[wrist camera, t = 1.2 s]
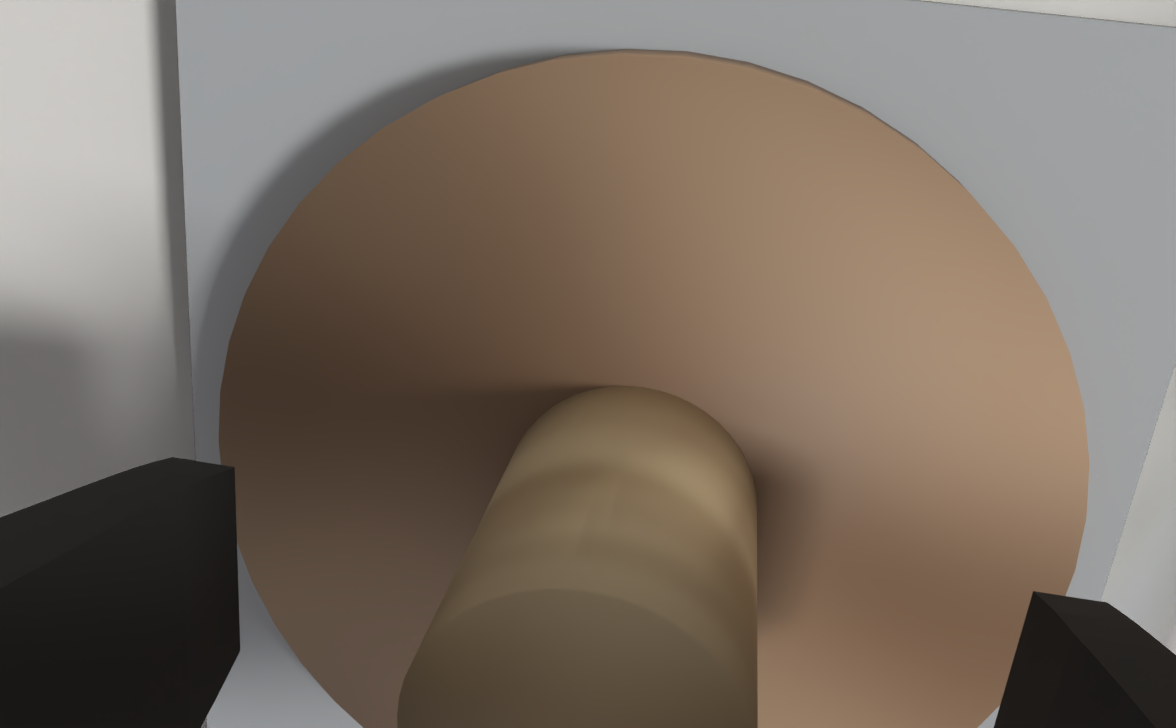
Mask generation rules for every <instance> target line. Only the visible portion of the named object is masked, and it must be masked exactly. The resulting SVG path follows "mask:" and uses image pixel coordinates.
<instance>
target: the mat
mask: <svg viewBox="0 0 1176 728" xmlns="http://www.w3.org/2000/svg"><path fill="white" fill-rule="evenodd" d="M176 22H177V45H178V68H179V91H180V114H181V137H182V160H183V183H184V206H185V229H186V253H187V276H188V299H189V322H190V345H191V368H192V391H193V414H194V437H195V460H196V461H199V462H206V463H212V464H219V465H221V460H220V451H219V410H220V390H221V384H222V378H223V372H224V367H225V361H226V355H227V350H228V344H229V340H230V337H231V334H232V331H233V328H234V325H235V322H236V319H237V316H238V313H239V310H240V307H241V304H242V301H243V298H244V295H245V293H246V291H247V289H248V287H249V285H250V283H251V281H252V279H253V277H254V275H255V273H256V271H257V269H258V267H259V265H260V263H261V261H262V259H263V257H264V255H265V253H266V251H267V249H268V247H269V246H270V244H271V243H272V241H273V240H274V238H275V237H276V236H277V234H278V233H279V231H280V230H281V228H282V227H283V226H284V224H285V223H286V221H287V220H288V219H289V217H290V216H291V214H292V213H293V211H294V210H295V209H296V207H297V206H298V204H299V203H300V202H301V201H302V200H303V199H304V198H305V197H306V196H307V195H308V194H309V193H310V192H311V190H312V189H313V188H314V187H315V186H316V185H317V184H318V183H319V182H320V181H321V180H322V179H323V178H324V177H325V176H326V175H327V174H328V173H329V172H330V171H331V170H332V168H333V167H334V166H335V165H336V164H337V163H338V162H340V161H341V160H342V159H344V158H345V157H346V156H347V155H349V154H350V153H351V152H352V151H354V150H355V149H356V148H358V147H359V146H360V145H361V144H363V143H364V142H365V141H367V140H368V139H369V138H370V137H372V136H373V135H374V134H376V133H377V132H378V131H379V130H381V129H382V128H383V127H385V126H387V125H389V124H390V123H392V122H394V121H396V120H398V119H399V118H401V117H403V116H405V115H406V114H408V113H410V112H412V111H413V110H415V109H417V108H419V107H420V106H422V105H424V104H426V103H427V102H429V101H431V100H433V99H434V98H437V97H439V96H441V95H443V94H446V93H448V92H450V91H453V90H455V89H457V88H460V87H462V86H465V85H468V84H470V83H473V82H475V81H478V80H480V79H483V78H485V77H488V76H490V75H493V74H495V73H498V72H501V71H503V70H506V69H508V68H512V67H516V66H521V65H525V64H529V63H533V62H537V61H541V60H546V59H550V58H554V57H558V56H562V55H567V54H578V53H588V52H598V51H608V50H618V49H645V50H671V51H689V52H695V53H701V54H706V55H712V56H718V57H723V58H729V59H735V60H740V61H746V62H750V63H753V64H756V65H760V66H763V67H766V68H769V69H772V70H775V71H778V72H781V73H784V74H788V75H791V76H794V77H797V78H800V79H803V80H806V81H809V82H811V83H813V84H815V85H817V86H819V87H821V88H823V89H825V90H827V91H830V92H832V93H834V94H836V95H838V96H840V97H842V98H844V99H846V100H848V101H850V102H852V103H855V104H857V105H859V106H861V107H863V108H865V109H866V110H868V111H869V112H871V113H872V114H874V115H875V116H877V117H878V118H880V119H881V120H883V121H884V122H886V123H887V124H889V125H890V126H892V127H893V128H895V129H896V130H898V131H899V132H901V133H902V134H904V135H905V136H907V137H908V138H910V139H911V140H913V141H914V142H915V143H916V144H918V145H919V146H920V147H921V148H922V149H923V150H924V151H925V152H927V153H928V154H929V155H930V156H931V157H932V158H933V159H934V160H936V161H937V162H938V163H939V164H940V165H941V166H942V167H943V168H945V169H946V170H947V171H948V172H949V173H950V174H951V175H952V176H954V177H955V178H956V179H957V180H958V181H959V182H960V183H961V184H962V185H963V186H964V187H965V188H966V190H967V191H968V192H969V193H970V194H971V195H972V196H973V197H974V198H975V200H976V201H977V202H978V203H979V204H980V206H981V207H982V208H983V209H984V210H985V212H986V213H987V214H988V215H989V216H990V217H991V219H992V220H993V221H994V222H995V223H996V225H997V226H998V227H999V228H1000V229H1001V230H1002V232H1003V233H1004V234H1005V235H1006V236H1007V238H1008V239H1009V240H1010V241H1011V242H1012V244H1013V245H1014V246H1015V248H1016V249H1017V251H1018V252H1019V254H1020V256H1021V257H1022V259H1023V261H1024V262H1025V264H1026V265H1027V267H1028V269H1029V270H1030V272H1031V273H1032V275H1033V277H1034V278H1035V280H1036V282H1037V283H1038V285H1039V286H1040V288H1041V290H1042V291H1043V293H1044V295H1045V296H1046V298H1047V300H1048V302H1049V305H1050V307H1051V309H1052V312H1053V314H1054V316H1055V319H1056V321H1057V323H1058V326H1059V328H1060V330H1061V333H1062V335H1063V338H1064V340H1065V342H1066V345H1067V347H1068V349H1069V352H1070V355H1071V359H1072V363H1073V367H1074V371H1075V374H1076V378H1077V382H1078V386H1079V390H1080V394H1081V398H1082V402H1083V406H1084V412H1085V422H1086V432H1087V443H1088V453H1089V463H1090V465H1089V482H1088V499H1087V516H1086V522H1085V527H1084V532H1083V536H1082V541H1081V546H1080V550H1079V555H1078V559H1077V564H1076V569H1075V572H1074V575H1073V577H1072V580H1071V583H1070V585H1069V588H1068V591H1067V593H1066V596H1068V597H1075V598H1081V599H1088V600H1094V601H1101V598H1102V594H1103V591H1104V588H1105V585H1106V582H1107V579H1108V575H1109V572H1110V569H1111V566H1112V563H1113V560H1114V556H1115V553H1116V550H1117V547H1118V544H1119V541H1120V537H1121V534H1122V531H1123V528H1124V525H1125V522H1126V518H1127V515H1128V512H1129V509H1130V506H1131V502H1132V499H1133V496H1134V493H1135V490H1136V487H1137V483H1138V480H1139V477H1140V474H1141V471H1142V468H1143V464H1144V461H1145V458H1146V455H1147V452H1148V449H1149V445H1150V442H1151V439H1152V436H1153V433H1154V430H1155V426H1156V423H1157V420H1158V417H1159V414H1160V411H1161V407H1162V404H1163V401H1164V398H1165V395H1166V392H1167V388H1168V385H1169V382H1170V379H1171V376H1172V373H1173V369H1174V366H1175V363H1176V27H1171V26H1161V25H1152V24H1142V23H1132V22H1123V21H1113V20H1104V19H1094V18H1084V17H1075V16H1065V15H1055V14H1046V13H1036V12H1027V11H1017V10H1007V9H998V8H988V7H979V6H969V5H959V4H950V3H940V2H930V1H921V0H176ZM237 558H238V590H239V623H240V652H239V654H238V656H237V658H236V660H235V662H234V664H233V666H232V668H231V670H230V672H229V674H228V676H227V678H226V680H225V682H224V684H223V686H222V688H221V690H220V692H219V694H218V696H217V698H216V700H215V702H214V704H213V706H212V707H211V709H210V711H209V713H208V715H207V728H363V727H362V726H361V725H360V724H359V723H358V722H357V721H355V720H354V719H353V718H352V717H351V716H350V715H349V714H348V713H347V712H346V711H345V710H344V709H342V708H341V707H340V706H339V705H338V704H337V703H336V702H335V701H334V700H333V699H332V698H331V697H330V696H329V694H328V693H327V692H326V691H325V690H324V689H323V688H322V686H321V685H320V684H319V683H318V682H317V681H316V680H315V678H314V677H313V676H312V675H311V674H310V673H309V672H308V670H307V669H306V668H305V667H304V666H303V665H302V663H301V662H300V660H299V659H298V657H297V656H296V655H295V653H294V652H293V650H292V649H291V647H290V646H289V644H288V643H287V642H286V640H285V639H284V637H283V636H282V634H281V633H280V631H279V630H278V628H277V627H276V626H275V624H274V622H273V620H272V618H271V616H270V615H269V613H268V611H267V609H266V607H265V605H264V603H263V601H262V599H261V598H260V596H259V594H258V592H257V590H256V588H255V586H254V584H253V582H252V580H251V577H250V575H249V572H248V570H247V567H246V564H245V562H244V559H243V556H242V554H241V551H240V549H239V546H238V543H237ZM999 707H1000V706H999ZM999 707H998V708H997V709H996V710H995V711H994V712H993V713H992V714H991V715H990V716H989V717H988V718H987V719H986V720H985V721H984V722H983V723H982V724H981V725H980V726H979V727H978V728H994V725H995V721H996V718H997V714H998V711H999Z"/></svg>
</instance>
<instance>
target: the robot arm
mask: <svg viewBox="0 0 1176 728" xmlns="http://www.w3.org/2000/svg"><path fill="white" fill-rule="evenodd" d="M239 652H240V623H239V590H238V558H237V526H236V493H235V467H232V466H225V465H219V464H212V463H206V462H199V461H193V460H187V459H180V458H174V457H172V458H168V459H164V460H160V461H156V462H153V463H149V464H146V465H143V466H139V467H136V468H133V469H130V470H127V471H124V472H121V473H119V474H116V475H113V476H110V477H107V478H105V479H102V480H99V481H96V482H94V483H91V484H88V485H86V486H83V487H80V488H78V489H75V490H72V491H70V492H67V493H64V494H62V495H59V496H57V497H54V498H51V499H49V500H46V501H43V502H41V503H38V504H35V505H33V506H30V507H28V508H25V509H22V510H20V511H17V512H14V513H12V514H9V515H6V516H4V517H1V518H0V728H200V727H201V726H202V724H203V722H204V720H205V718H206V717H207V715H208V713H209V711H210V709H211V707H212V706H213V704H214V702H215V700H216V698H217V696H218V694H219V692H220V690H221V688H222V686H223V684H224V682H225V680H226V678H227V676H228V674H229V672H230V670H231V668H232V666H233V664H234V662H235V660H236V658H237V656H238V654H239ZM994 728H1176V655H1175V654H1174V653H1172V652H1171V651H1170V650H1169V649H1167V648H1166V647H1165V646H1164V645H1162V644H1161V643H1160V642H1159V641H1158V640H1156V639H1155V638H1154V637H1153V636H1151V635H1150V634H1149V633H1148V632H1146V631H1145V630H1144V629H1143V628H1141V627H1140V626H1139V625H1138V624H1136V623H1135V622H1134V621H1132V620H1131V619H1130V618H1128V617H1127V616H1126V615H1124V614H1123V613H1121V612H1120V611H1119V610H1117V609H1116V608H1114V607H1113V606H1111V605H1110V604H1108V603H1107V602H1101V601H1094V600H1088V599H1081V598H1075V597H1068V596H1062V595H1056V594H1049V593H1043V592H1036V591H1033V593H1032V597H1031V600H1030V604H1029V607H1028V611H1027V614H1026V618H1025V621H1024V625H1023V628H1022V631H1021V635H1020V638H1019V642H1018V645H1017V649H1016V652H1015V656H1014V659H1013V663H1012V666H1011V669H1010V673H1009V676H1008V680H1007V683H1006V687H1005V690H1004V694H1003V697H1002V700H1001V704H1000V707H999V711H998V714H997V718H996V721H995V725H994Z"/></svg>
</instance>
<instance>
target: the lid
mask: <svg viewBox="0 0 1176 728" xmlns="http://www.w3.org/2000/svg"><path fill="white" fill-rule="evenodd" d="M219 451H220V460H221V465H225V466H232V467H235V493H236V526H237V543H238V546H239V549H240V551H241V554H242V556H243V559H244V562H245V564H246V567H247V570H248V572H249V575H250V577H251V580H252V582H253V584H254V586H255V588H256V590H257V592H258V594H259V596H260V598H261V599H262V601H263V603H264V605H265V607H266V609H267V611H268V613H269V615H270V616H271V618H272V620H273V622H274V624H275V626H276V627H277V628H278V630H279V631H280V633H281V634H282V636H283V637H284V639H285V640H286V642H287V643H288V644H289V646H290V647H291V649H292V650H293V652H294V653H295V655H296V656H297V657H298V659H299V660H300V662H301V663H302V665H303V666H304V667H305V668H306V669H307V670H308V672H309V673H310V674H311V675H312V676H313V677H314V678H315V680H316V681H317V682H318V683H319V684H320V685H321V686H322V688H323V689H324V690H325V691H326V692H327V693H328V694H329V696H330V697H331V698H332V699H333V700H334V701H335V702H336V703H337V704H338V705H339V706H340V707H341V708H342V709H344V710H345V711H346V712H347V713H348V714H349V715H350V716H351V717H352V718H353V719H354V720H355V721H357V722H358V723H359V724H360V725H361V726H362V727H363V728H978V727H979V726H980V725H981V724H982V723H983V722H984V721H985V720H986V719H987V718H988V717H989V716H990V715H991V714H992V713H993V712H994V711H995V710H996V709H997V708H998V707H999V706H1000V704H1001V700H1002V697H1003V694H1004V690H1005V687H1006V683H1007V680H1008V676H1009V673H1010V669H1011V666H1012V663H1013V659H1014V656H1015V652H1016V649H1017V645H1018V642H1019V638H1020V635H1021V631H1022V628H1023V625H1024V621H1025V618H1026V614H1027V611H1028V607H1029V604H1030V600H1031V597H1032V593H1033V591H1036V592H1043V593H1049V594H1056V595H1062V596H1066V593H1067V591H1068V588H1069V585H1070V583H1071V580H1072V577H1073V575H1074V572H1075V569H1076V564H1077V559H1078V555H1079V550H1080V546H1081V541H1082V536H1083V532H1084V527H1085V522H1086V516H1087V499H1088V482H1089V465H1090V463H1089V453H1088V443H1087V432H1086V422H1085V412H1084V406H1083V402H1082V398H1081V394H1080V390H1079V386H1078V382H1077V378H1076V374H1075V371H1074V367H1073V363H1072V359H1071V355H1070V352H1069V349H1068V347H1067V345H1066V342H1065V340H1064V338H1063V335H1062V333H1061V330H1060V328H1059V326H1058V323H1057V321H1056V319H1055V316H1054V314H1053V312H1052V309H1051V307H1050V305H1049V302H1048V300H1047V298H1046V296H1045V295H1044V293H1043V291H1042V290H1041V288H1040V286H1039V285H1038V283H1037V282H1036V280H1035V278H1034V277H1033V275H1032V273H1031V272H1030V270H1029V269H1028V267H1027V265H1026V264H1025V262H1024V261H1023V259H1022V257H1021V256H1020V254H1019V252H1018V251H1017V249H1016V248H1015V246H1014V245H1013V244H1012V242H1011V241H1010V240H1009V239H1008V238H1007V236H1006V235H1005V234H1004V233H1003V232H1002V230H1001V229H1000V228H999V227H998V226H997V225H996V223H995V222H994V221H993V220H992V219H991V217H990V216H989V215H988V214H987V213H986V212H985V210H984V209H983V208H982V207H981V206H980V204H979V203H978V202H977V201H976V200H975V198H974V197H973V196H972V195H971V194H970V193H969V192H968V191H967V190H966V188H965V187H964V186H963V185H962V184H961V183H960V182H959V181H958V180H957V179H956V178H955V177H954V176H952V175H951V174H950V173H949V172H948V171H947V170H946V169H945V168H943V167H942V166H941V165H940V164H939V163H938V162H937V161H936V160H934V159H933V158H932V157H931V156H930V155H929V154H928V153H927V152H925V151H924V150H923V149H922V148H921V147H920V146H919V145H918V144H916V143H915V142H914V141H913V140H911V139H910V138H908V137H907V136H905V135H904V134H902V133H901V132H899V131H898V130H896V129H895V128H893V127H892V126H890V125H889V124H887V123H886V122H884V121H883V120H881V119H880V118H878V117H877V116H875V115H874V114H872V113H871V112H869V111H868V110H866V109H865V108H863V107H861V106H859V105H857V104H855V103H852V102H850V101H848V100H846V99H844V98H842V97H840V96H838V95H836V94H834V93H832V92H830V91H827V90H825V89H823V88H821V87H819V86H817V85H815V84H813V83H811V82H809V81H806V80H803V79H800V78H797V77H794V76H791V75H788V74H784V73H781V72H778V71H775V70H772V69H769V68H766V67H763V66H760V65H756V64H753V63H750V62H746V61H740V60H735V59H729V58H723V57H718V56H712V55H706V54H701V53H695V52H689V51H671V50H645V49H618V50H608V51H598V52H588V53H578V54H567V55H562V56H558V57H554V58H550V59H546V60H541V61H537V62H533V63H529V64H525V65H521V66H516V67H512V68H508V69H506V70H503V71H501V72H498V73H495V74H493V75H490V76H488V77H485V78H483V79H480V80H478V81H475V82H473V83H470V84H468V85H465V86H462V87H460V88H457V89H455V90H453V91H450V92H448V93H446V94H443V95H441V96H439V97H437V98H434V99H433V100H431V101H429V102H427V103H426V104H424V105H422V106H420V107H419V108H417V109H415V110H413V111H412V112H410V113H408V114H406V115H405V116H403V117H401V118H399V119H398V120H396V121H394V122H392V123H390V124H389V125H387V126H385V127H383V128H382V129H381V130H379V131H378V132H377V133H376V134H374V135H373V136H372V137H370V138H369V139H368V140H367V141H365V142H364V143H363V144H361V145H360V146H359V147H358V148H356V149H355V150H354V151H352V152H351V153H350V154H349V155H347V156H346V157H345V158H344V159H342V160H341V161H340V162H338V163H337V164H336V165H335V166H334V167H333V168H332V170H331V171H330V172H329V173H328V174H327V175H326V176H325V177H324V178H323V179H322V180H321V181H320V182H319V183H318V184H317V185H316V186H315V187H314V188H313V189H312V190H311V192H310V193H309V194H308V195H307V196H306V197H305V198H304V199H303V200H302V201H301V202H300V203H299V204H298V206H297V207H296V209H295V210H294V211H293V213H292V214H291V216H290V217H289V219H288V220H287V221H286V223H285V224H284V226H283V227H282V228H281V230H280V231H279V233H278V234H277V236H276V237H275V238H274V240H273V241H272V243H271V244H270V246H269V247H268V249H267V251H266V253H265V255H264V257H263V259H262V261H261V263H260V265H259V267H258V269H257V271H256V273H255V275H254V277H253V279H252V281H251V283H250V285H249V287H248V289H247V291H246V293H245V295H244V298H243V301H242V304H241V307H240V310H239V313H238V316H237V319H236V322H235V325H234V328H233V331H232V334H231V337H230V340H229V344H228V350H227V355H226V361H225V367H224V372H223V378H222V384H221V390H220V410H219Z"/></svg>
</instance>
